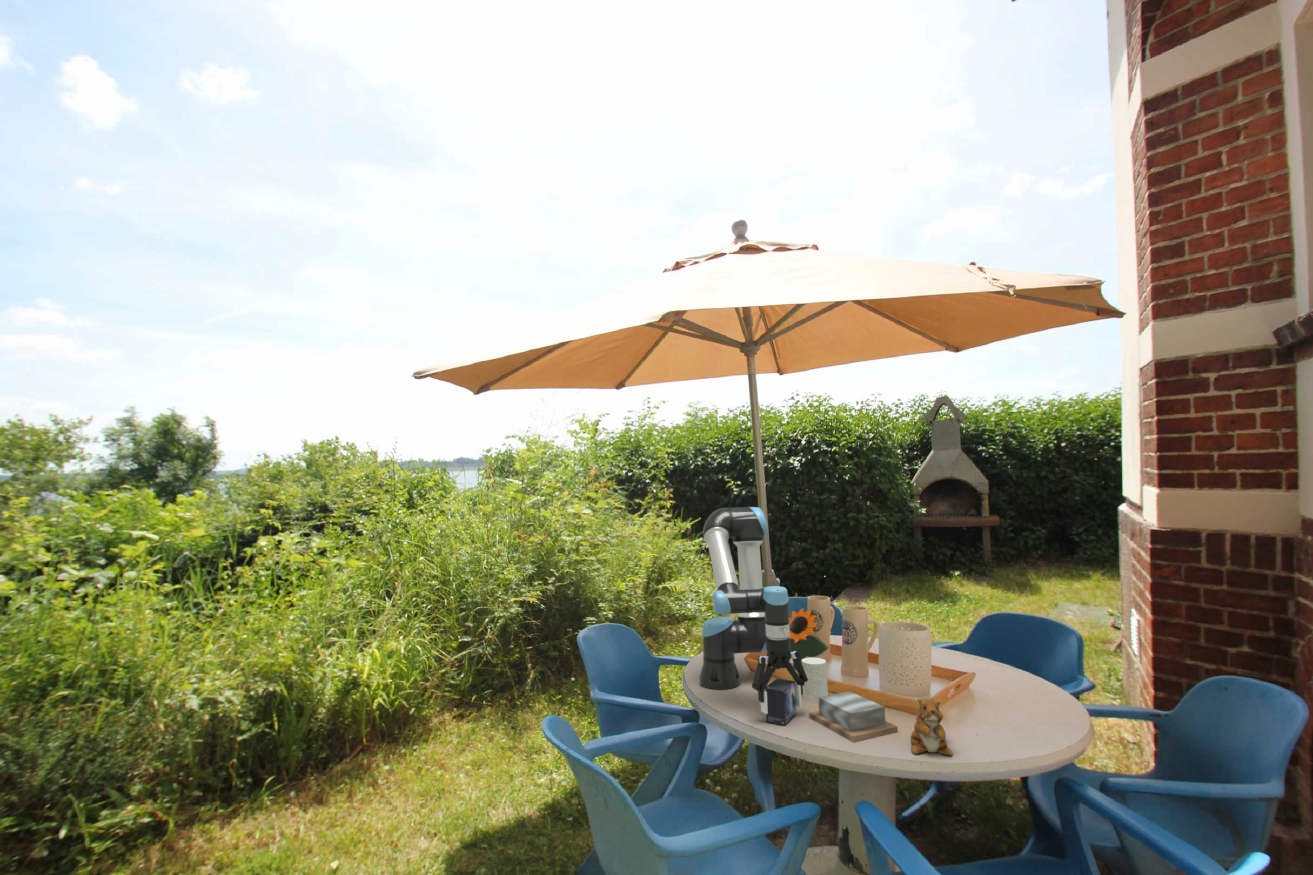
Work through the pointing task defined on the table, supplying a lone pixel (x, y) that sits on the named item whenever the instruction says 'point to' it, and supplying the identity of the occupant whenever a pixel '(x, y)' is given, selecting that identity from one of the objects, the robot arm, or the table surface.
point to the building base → (854, 734)
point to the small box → (780, 701)
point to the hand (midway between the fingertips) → (781, 709)
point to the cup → (815, 678)
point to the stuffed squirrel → (929, 729)
